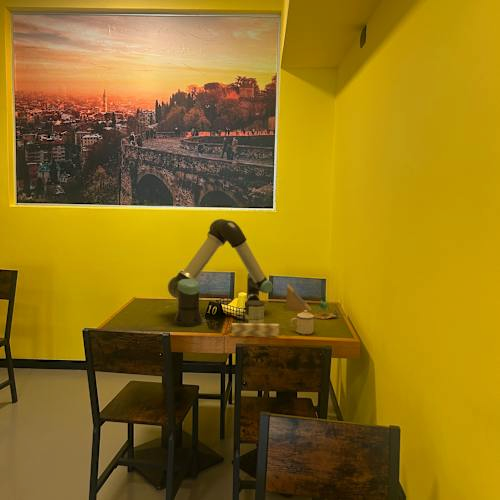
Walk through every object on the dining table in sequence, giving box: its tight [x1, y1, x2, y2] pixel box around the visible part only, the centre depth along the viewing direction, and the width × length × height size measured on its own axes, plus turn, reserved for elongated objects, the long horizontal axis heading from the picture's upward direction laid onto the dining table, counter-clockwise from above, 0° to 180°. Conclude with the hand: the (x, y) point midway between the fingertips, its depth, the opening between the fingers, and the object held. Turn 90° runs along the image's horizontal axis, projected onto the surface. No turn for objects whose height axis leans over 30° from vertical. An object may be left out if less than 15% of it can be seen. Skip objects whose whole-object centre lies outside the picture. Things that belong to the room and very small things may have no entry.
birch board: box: [231, 322, 280, 338], centre depth 239 cm, size 24×3×6 cm, turn 91°
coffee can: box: [244, 300, 265, 324], centre depth 251 cm, size 10×10×14 cm
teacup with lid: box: [290, 310, 315, 335], centre depth 246 cm, size 12×9×12 cm
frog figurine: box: [313, 294, 341, 320], centre depth 275 cm, size 10×18×15 cm, turn 77°
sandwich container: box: [285, 283, 312, 312], centre depth 293 cm, size 9×15×15 cm, turn 81°
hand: (255, 311), depth 258 cm, fingers closed
